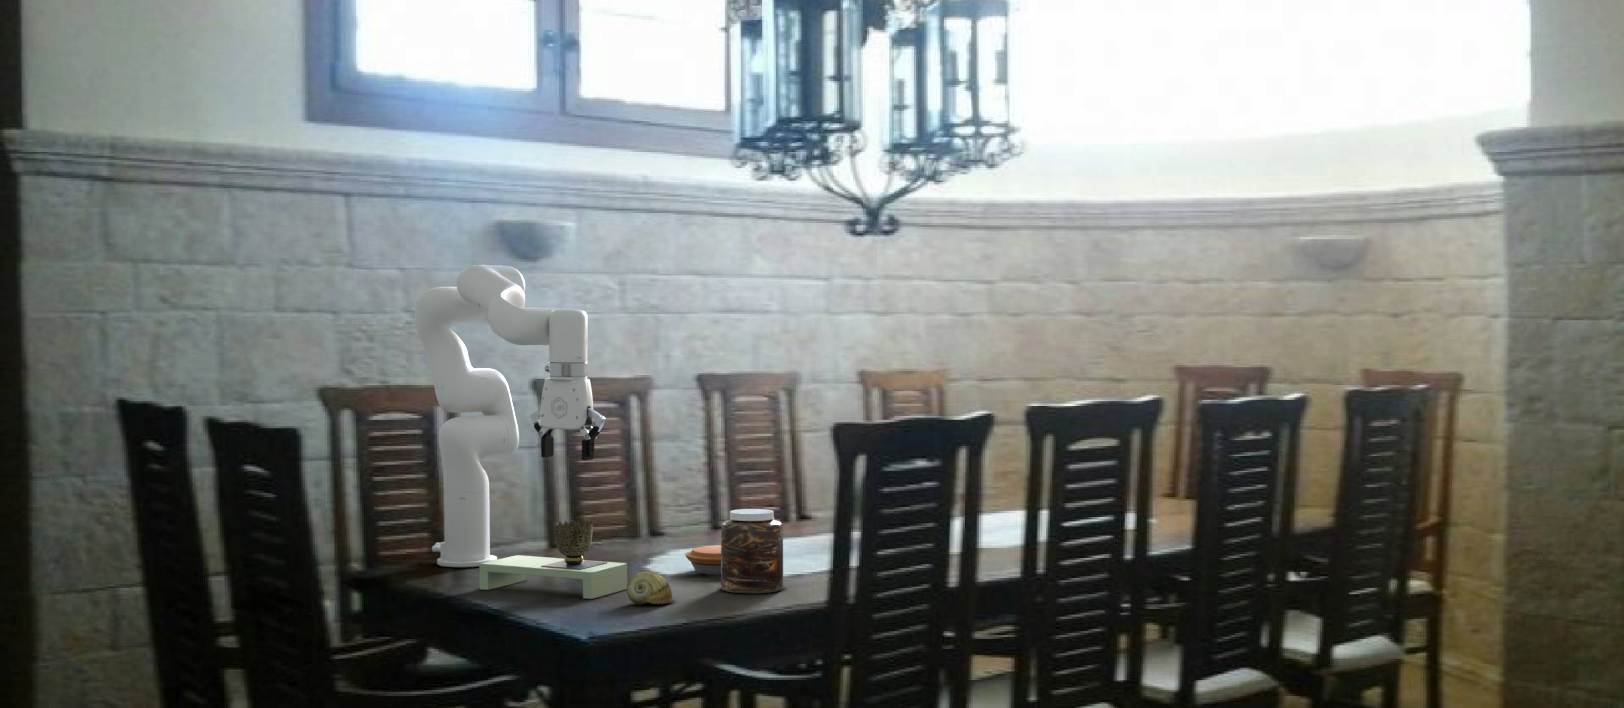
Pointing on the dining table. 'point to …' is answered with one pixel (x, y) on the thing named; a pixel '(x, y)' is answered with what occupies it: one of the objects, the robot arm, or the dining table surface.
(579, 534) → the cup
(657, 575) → the seashell
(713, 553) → the pie
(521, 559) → the shelf
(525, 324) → the robot arm
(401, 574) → the dining table surface
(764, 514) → the jar
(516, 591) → the dining table surface
